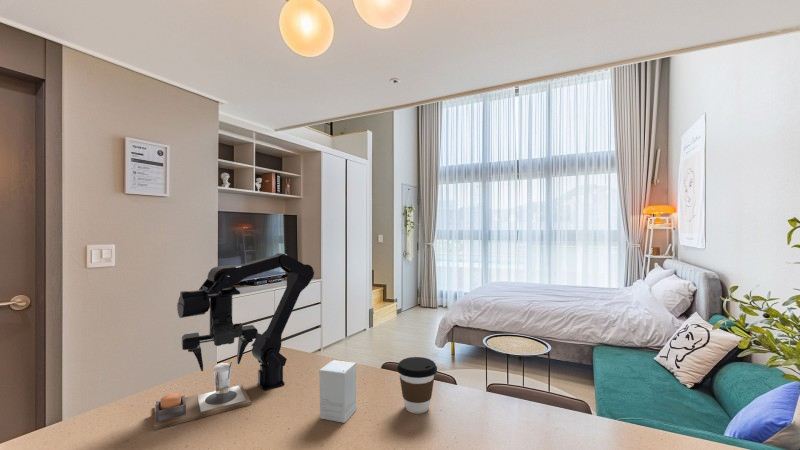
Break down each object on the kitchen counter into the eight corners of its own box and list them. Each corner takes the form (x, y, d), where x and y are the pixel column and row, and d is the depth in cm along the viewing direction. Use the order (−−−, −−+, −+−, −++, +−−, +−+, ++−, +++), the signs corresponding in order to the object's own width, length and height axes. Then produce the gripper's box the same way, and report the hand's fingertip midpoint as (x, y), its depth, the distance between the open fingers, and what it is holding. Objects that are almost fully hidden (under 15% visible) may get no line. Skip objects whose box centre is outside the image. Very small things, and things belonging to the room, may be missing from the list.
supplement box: (357, 409, 95) (357, 362, 96) (344, 424, 88) (344, 373, 89) (333, 405, 98) (333, 359, 98) (318, 418, 91) (318, 369, 91)
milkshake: (225, 401, 98) (226, 365, 98) (209, 399, 99) (209, 363, 99) (236, 393, 102) (237, 359, 102) (220, 392, 103) (220, 357, 103)
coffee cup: (445, 407, 97) (445, 363, 97) (419, 423, 89) (419, 375, 89) (414, 394, 104) (414, 353, 104) (388, 408, 96) (388, 363, 96)
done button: (180, 402, 95) (180, 391, 95) (181, 409, 92) (181, 398, 92) (160, 407, 93) (160, 396, 93) (160, 415, 89) (160, 403, 89)
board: (242, 386, 109) (242, 376, 109) (251, 404, 98) (251, 393, 98) (154, 407, 96) (154, 395, 96) (154, 430, 86) (154, 416, 86)
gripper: (184, 322, 88) (183, 385, 88) (262, 313, 99) (262, 369, 99) (181, 313, 98) (181, 370, 97) (253, 305, 108) (253, 357, 108)
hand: (220, 367), depth 100 cm, fingers open, 9 cm apart
